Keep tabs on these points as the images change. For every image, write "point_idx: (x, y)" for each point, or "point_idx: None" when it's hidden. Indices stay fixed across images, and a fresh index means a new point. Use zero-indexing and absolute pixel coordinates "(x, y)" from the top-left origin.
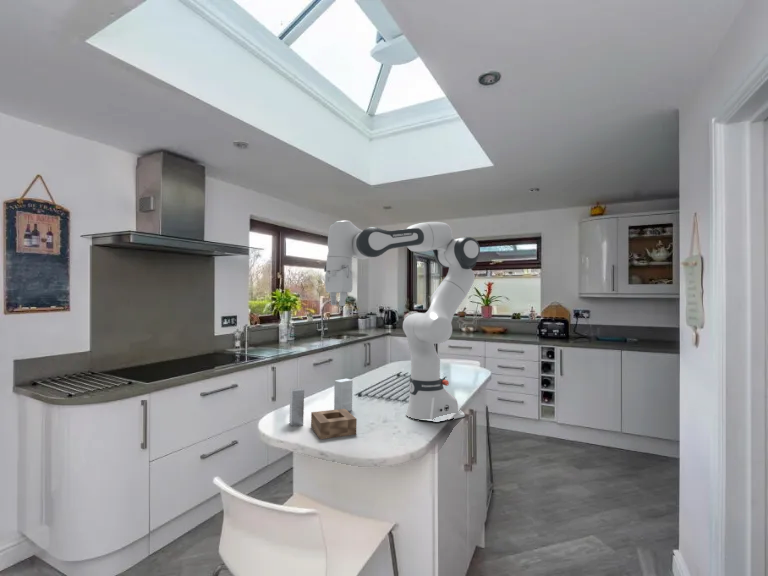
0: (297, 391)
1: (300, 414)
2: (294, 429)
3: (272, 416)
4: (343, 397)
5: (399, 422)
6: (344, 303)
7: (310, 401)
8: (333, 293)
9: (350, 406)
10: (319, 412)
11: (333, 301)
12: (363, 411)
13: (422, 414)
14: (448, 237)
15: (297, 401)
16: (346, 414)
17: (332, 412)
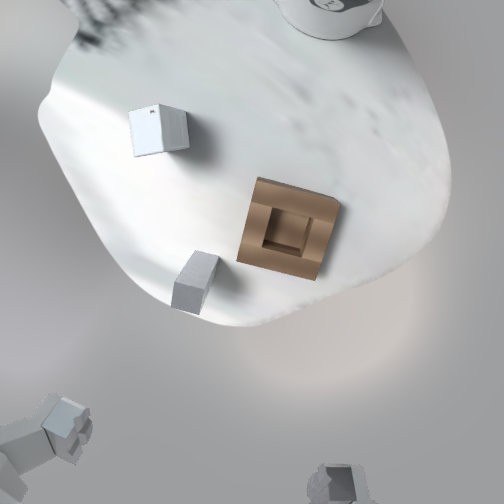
0: (201, 303)
1: (213, 271)
2: (233, 280)
3: (138, 280)
4: (178, 139)
5: (329, 73)
6: (362, 480)
7: (76, 167)
8: (11, 491)
9: (183, 116)
10: (248, 247)
11: (78, 450)
12: (208, 91)
13: (355, 27)
14: None
15: (206, 291)
16: (300, 204)
17: (266, 223)
